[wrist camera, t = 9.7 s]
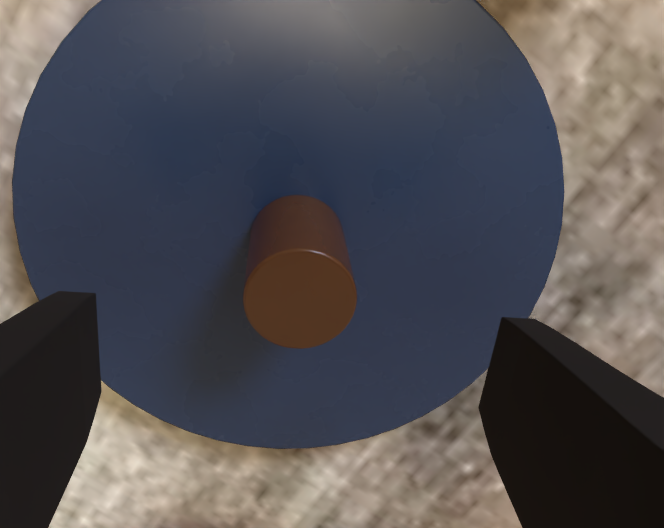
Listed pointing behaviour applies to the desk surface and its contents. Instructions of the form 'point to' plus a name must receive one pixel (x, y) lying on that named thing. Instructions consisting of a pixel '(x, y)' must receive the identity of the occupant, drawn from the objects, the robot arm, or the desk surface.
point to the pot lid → (290, 206)
